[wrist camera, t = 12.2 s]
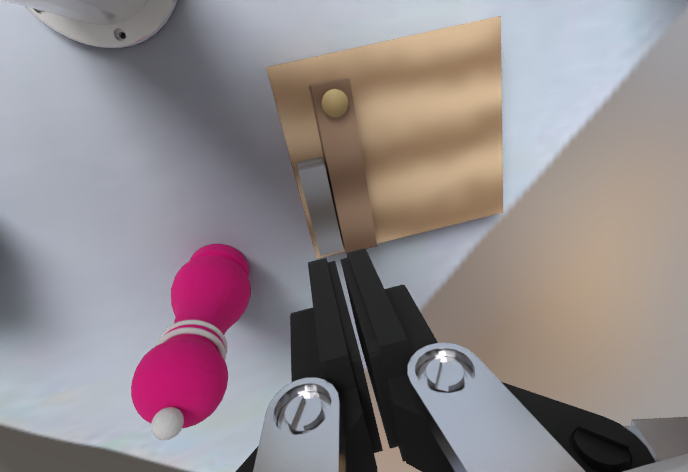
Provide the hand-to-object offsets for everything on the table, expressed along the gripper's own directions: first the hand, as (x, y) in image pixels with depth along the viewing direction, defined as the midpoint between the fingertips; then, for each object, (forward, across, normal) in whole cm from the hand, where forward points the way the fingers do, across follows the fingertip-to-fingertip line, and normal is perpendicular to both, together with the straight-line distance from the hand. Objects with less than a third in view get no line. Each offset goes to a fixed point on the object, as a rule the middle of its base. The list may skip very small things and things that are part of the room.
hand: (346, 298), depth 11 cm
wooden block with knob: (+27, -8, +2) cm, 28 cm away
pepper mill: (+27, +12, +11) cm, 32 cm away
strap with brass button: (+24, -3, +2) cm, 24 cm away
